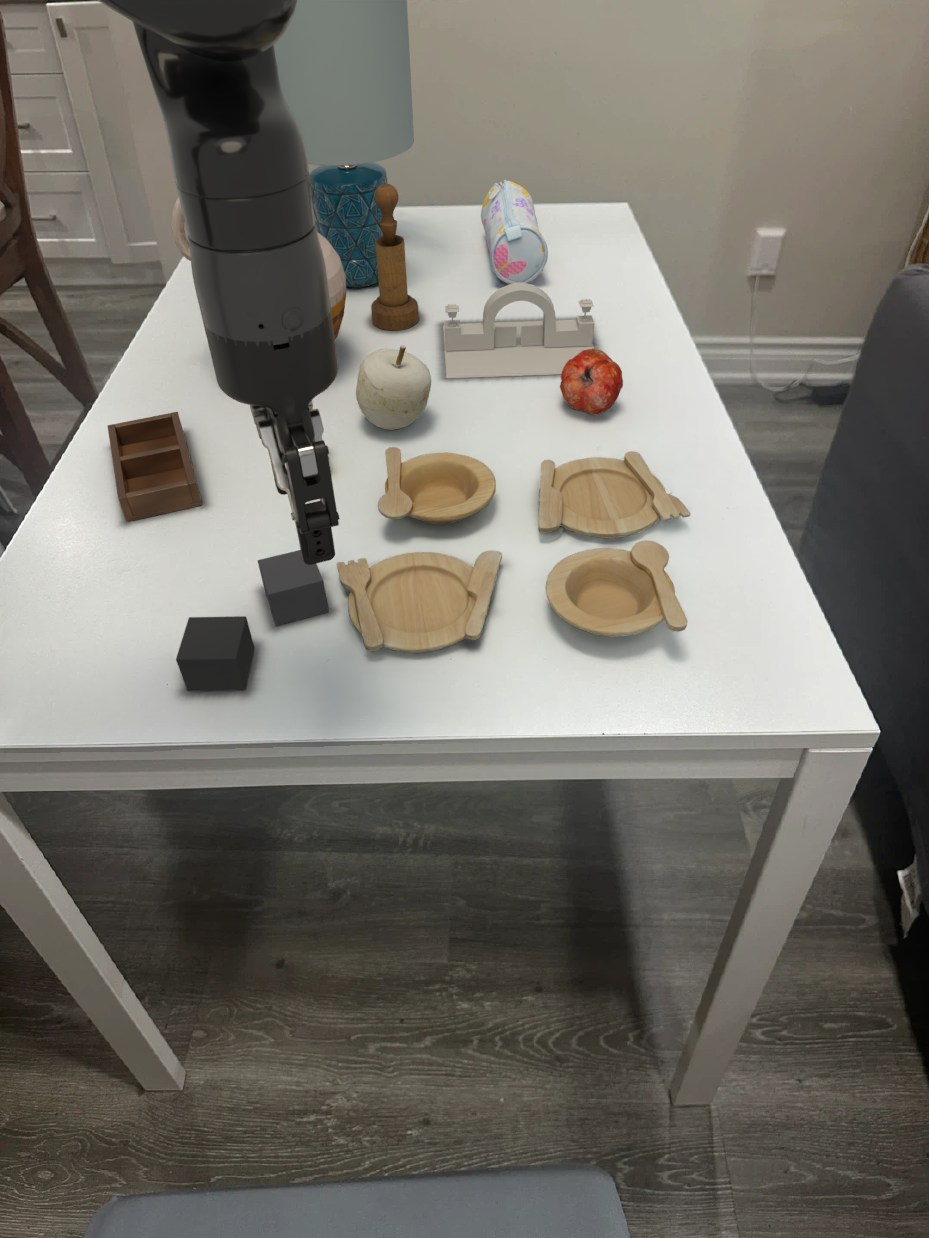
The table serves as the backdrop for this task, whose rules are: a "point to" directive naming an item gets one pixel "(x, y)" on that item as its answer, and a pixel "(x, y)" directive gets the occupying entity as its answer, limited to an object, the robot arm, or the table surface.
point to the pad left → (216, 653)
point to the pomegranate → (591, 381)
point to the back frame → (152, 467)
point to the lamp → (349, 114)
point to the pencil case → (513, 234)
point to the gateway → (515, 338)
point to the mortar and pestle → (391, 270)
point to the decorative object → (392, 388)
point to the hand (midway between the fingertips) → (305, 523)
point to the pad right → (292, 587)
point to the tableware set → (460, 594)
